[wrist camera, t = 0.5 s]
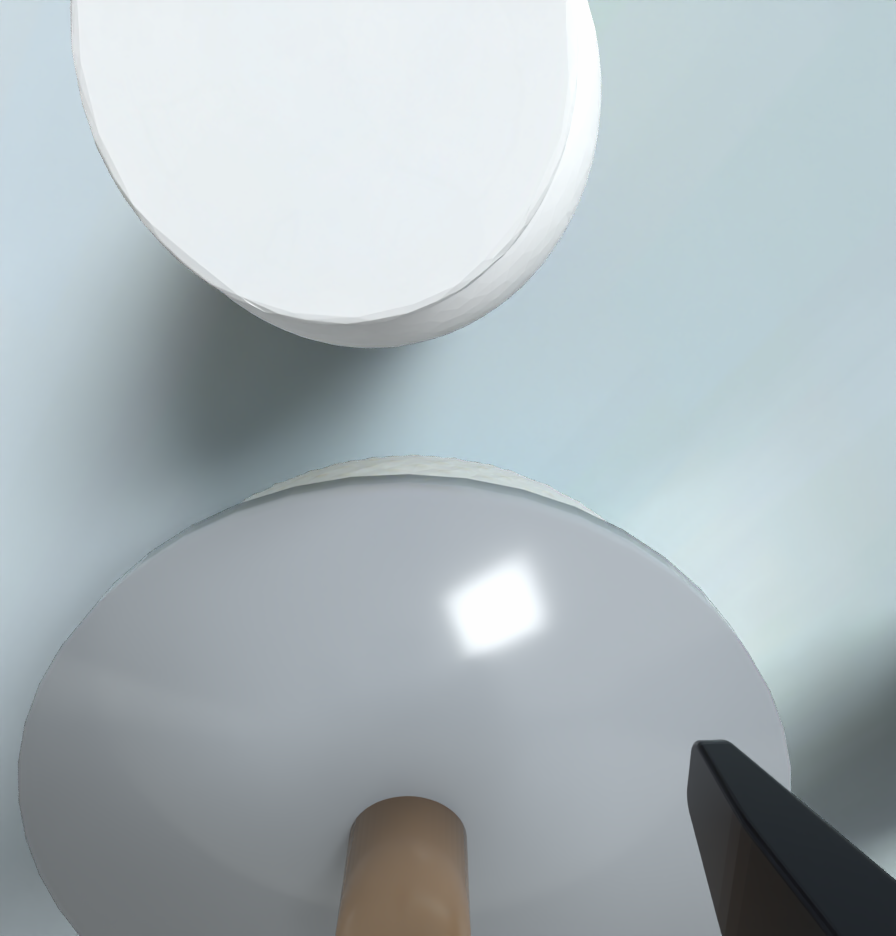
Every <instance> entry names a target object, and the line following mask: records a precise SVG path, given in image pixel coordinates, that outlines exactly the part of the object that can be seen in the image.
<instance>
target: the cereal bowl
mask: <svg viewBox="0 0 896 936" xmlns="http://www.w3.org/2000/svg"><path fill="white" fill-rule="evenodd" d="M398 474H416V475H429V476H443V477H457V478H468V479H473V480H478V481H483V482H488V483H493V484H498V485H503V486H508V487H514V488H519V489H523V490H526V491H529V492H532V493H535V494H538V495H541V496H544V497H547V498H550V499H553V500H556V501H559V502H563V503H566V504H569V505H572V506H575V507H577V508H579V509H581V510H583V511H585V512H587V513H589V514H591V515H593V516H596V517H598V518H600V519H602V520H604V519H603V518H602V517H601V516H600V515H598V514H596V513H594V512H593V511H592V510H590V509H588V508H586V507H585V506H584V505H583V504H581V503H580V502H579V501H576V500H574V499H572V498H571V497H569V496H567V495H564V494H562V493H560V492H559V491H557V490H555V489H553V488H552V487H550V486H549V485H547V484H543V483H540V482H537V481H535V480H532V479H529V478H527V477H525V476H522V475H519V474H517V473H515V472H513V471H511V470H505V469H501V468H498V467H496V466H493V465H490V464H482V463H478V462H472V461H464V460H461V459H457V458H441V457H436V456H420V455H408V456H389V457H371V458H367V459H363V460H353V461H348V462H345V463H338V464H334V465H331V466H328V467H325V468H322V469H317V470H312V471H308V472H306V473H305V474H303V475H299V476H296V477H294V478H291V479H288V480H287V481H285V482H280V483H276V484H274V485H273V486H272V487H271V488H268V489H266V490H264V491H262V492H259V493H256V494H253V495H252V496H251V497H250V498H247V499H245V500H244V501H242V502H245V501H249V500H252V499H255V498H258V497H262V496H265V495H268V494H272V493H275V492H278V491H281V490H285V489H288V488H291V487H294V486H300V485H306V484H312V483H318V482H323V481H329V480H335V479H341V478H347V477H357V476H378V475H398ZM242 502H241V503H242ZM604 521H605V520H604ZM606 522H607V521H606Z"/></svg>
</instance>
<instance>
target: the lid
mask: <svg viewBox="0 0 896 936" xmlns="http://www.w3.org/2000/svg"><path fill="white" fill-rule="evenodd" d="M717 739H723V740H727V741H729V742H731V743H733V744H734V745H735V746H736V747H738V748H739V749H740V750H741V751H742V752H744V753H745V754H746V755H747V756H748V757H750V758H751V759H752V760H753V761H754V762H756V763H757V764H758V765H759V766H760V767H761V768H763V769H764V770H765V771H766V772H767V773H769V774H770V775H771V776H772V777H773V778H775V779H776V780H777V781H778V782H779V783H781V784H782V785H783V786H784V787H785V788H787V789H788V790H789V791H790V792H791V764H790V759H789V753H788V748H787V742H786V736H785V731H784V727H783V724H782V721H781V719H780V716H779V713H778V711H777V708H776V705H775V702H774V700H773V697H772V694H771V692H770V689H769V687H768V686H767V684H766V682H765V681H764V679H763V677H762V675H761V674H760V672H759V670H758V668H757V667H756V665H755V663H754V662H753V660H752V658H751V656H750V655H749V653H748V651H747V650H746V648H745V647H744V645H743V644H742V642H741V641H740V639H739V638H738V636H737V635H736V633H735V632H734V630H733V629H732V627H731V626H730V624H729V623H728V622H727V620H726V619H725V618H724V617H723V616H722V614H721V613H720V612H719V611H718V610H717V608H716V607H715V606H714V605H713V604H712V602H711V601H710V600H709V599H708V597H707V596H706V595H705V594H704V593H703V591H702V590H701V589H700V588H699V587H698V586H696V585H695V584H694V583H693V582H692V581H691V580H690V579H689V578H688V577H686V576H685V575H684V574H683V573H682V572H681V571H680V570H679V569H677V568H676V567H675V566H674V565H673V564H672V563H671V562H670V561H668V560H667V559H666V558H665V557H664V556H662V555H661V554H659V553H657V552H656V551H654V550H653V549H651V548H650V547H648V546H647V545H645V544H644V543H642V542H641V541H639V540H638V539H636V538H635V537H633V536H632V535H630V534H629V533H627V532H626V531H624V530H623V529H620V528H618V527H616V526H614V525H612V524H610V523H608V522H606V521H604V520H602V519H600V518H598V517H596V516H593V515H591V514H589V513H587V512H585V511H583V510H581V509H579V508H577V507H575V506H572V505H569V504H566V503H563V502H559V501H556V500H553V499H550V498H547V497H544V496H541V495H538V494H535V493H532V492H529V491H526V490H523V489H519V488H514V487H508V486H503V485H498V484H493V483H488V482H483V481H478V480H473V479H468V478H457V477H443V476H429V475H416V474H398V475H378V476H357V477H347V478H341V479H335V480H329V481H323V482H318V483H312V484H306V485H300V486H294V487H291V488H288V489H285V490H281V491H278V492H275V493H272V494H268V495H265V496H262V497H258V498H255V499H252V500H249V501H245V502H242V503H240V504H237V505H235V506H233V507H231V508H229V509H226V510H224V511H222V512H220V513H218V514H215V515H213V516H211V517H209V518H207V519H204V520H202V521H200V522H198V523H196V524H194V525H192V526H190V527H189V528H187V529H185V530H184V531H182V532H181V533H179V534H178V535H176V536H174V537H173V538H171V539H170V540H168V541H167V542H165V543H163V544H162V545H160V546H159V547H157V548H156V549H154V550H152V551H151V552H149V553H148V554H147V555H146V556H145V557H144V558H142V559H141V560H140V561H139V562H138V563H137V564H136V565H134V566H133V567H132V568H131V569H130V570H129V571H127V572H126V573H125V574H124V575H123V576H122V577H121V578H119V579H118V580H117V581H116V582H115V583H114V584H113V585H112V586H111V587H110V588H109V590H108V591H107V592H106V593H105V594H104V596H103V597H102V598H101V599H100V600H99V601H98V603H97V604H96V605H95V606H94V607H93V609H92V610H91V611H90V612H89V613H88V615H87V616H86V617H85V618H84V619H83V621H82V622H81V623H80V624H79V625H78V627H77V628H76V629H75V630H74V631H73V633H72V634H71V635H70V636H69V637H68V639H67V640H66V641H65V642H64V643H63V645H62V646H61V648H60V649H59V651H58V653H57V654H56V656H55V658H54V660H53V661H52V663H51V665H50V666H49V668H48V670H47V672H46V673H45V675H44V677H43V678H42V680H41V682H40V683H39V686H38V689H37V691H36V694H35V697H34V700H33V702H32V705H31V708H30V710H29V713H28V716H27V719H26V721H25V725H24V731H23V737H22V743H21V749H20V754H19V760H18V790H19V806H20V811H21V816H22V821H23V826H24V832H25V837H26V840H27V843H28V846H29V848H30V851H31V854H32V856H33V859H34V862H35V864H36V867H37V870H38V872H39V875H40V877H41V878H42V880H43V882H44V884H45V886H46V887H47V889H48V891H49V893H50V894H51V896H52V898H53V900H54V902H55V903H56V905H57V907H58V908H59V910H60V911H61V912H62V914H63V915H64V916H65V917H66V919H67V920H68V921H69V923H70V924H71V925H72V927H73V928H74V929H75V931H76V932H77V933H78V934H79V936H722V935H721V931H720V928H719V924H718V920H717V917H716V913H715V909H714V905H713V901H712V898H711V894H710V890H709V886H708V882H707V878H706V875H705V871H704V867H703V863H702V859H701V856H700V852H699V848H698V844H697V840H696V837H695V833H694V829H693V825H692V821H691V817H690V814H689V809H688V804H687V783H688V774H689V764H690V755H691V748H692V746H693V743H694V742H696V741H698V740H717Z"/></svg>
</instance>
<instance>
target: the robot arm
mask: <svg viewBox="0 0 896 936" xmlns="http://www.w3.org/2000/svg"><path fill="white" fill-rule="evenodd" d="M687 804H688V809H689V814H690V817H691V821H692V825H693V829H694V833H695V837H696V840H697V844H698V848H699V852H700V856H701V859H702V863H703V867H704V871H705V875H706V878H707V882H708V886H709V890H710V894H711V898H712V901H713V905H714V909H715V913H716V917H717V920H718V924H719V928H720V931H721V935H722V936H896V880H895V879H894V878H893V877H891V876H890V875H889V874H888V873H887V872H885V871H884V870H883V869H882V868H881V867H880V866H878V865H877V864H876V863H875V862H874V861H872V860H871V859H870V858H869V857H868V856H866V855H865V854H864V853H863V852H862V851H860V850H859V849H858V848H857V847H856V846H854V845H853V844H852V843H851V842H850V841H849V840H847V839H846V838H845V837H844V836H843V835H841V834H840V833H839V832H838V831H837V830H835V829H834V828H833V827H832V826H831V825H829V824H828V823H827V822H826V821H825V820H823V819H822V818H821V817H820V816H819V815H818V814H816V813H815V812H814V811H813V810H812V809H810V808H809V807H808V806H807V805H806V804H804V803H803V802H802V801H801V800H800V799H798V798H797V797H796V796H795V795H794V794H792V793H791V792H790V791H789V790H788V789H787V788H785V787H784V786H783V785H782V784H781V783H779V782H778V781H777V780H776V779H775V778H773V777H772V776H771V775H770V774H769V773H767V772H766V771H765V770H764V769H763V768H761V767H760V766H759V765H758V764H757V763H756V762H754V761H753V760H752V759H751V758H750V757H748V756H747V755H746V754H745V753H744V752H742V751H741V750H740V749H739V748H738V747H736V746H735V745H734V744H733V743H731V742H729V741H727V740H723V739H717V740H698V741H696V742H694V743H693V746H692V748H691V755H690V764H689V774H688V783H687Z"/></svg>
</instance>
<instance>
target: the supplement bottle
mask: <svg viewBox="0 0 896 936" xmlns="http://www.w3.org/2000/svg"><path fill="white" fill-rule="evenodd" d="M70 13H71V43H72V53H73V59H74V65H75V70H76V75H77V80H78V85H79V90H80V95H81V100H82V105H83V108H84V111H85V114H86V117H87V120H88V123H89V125H90V128H91V131H92V134H93V137H94V140H95V143H96V146H97V149H98V151H99V153H100V155H101V157H102V159H103V161H104V163H105V165H106V167H107V169H108V171H109V173H110V175H111V177H112V179H113V180H114V182H115V184H116V185H117V187H118V189H119V190H120V192H121V194H122V195H123V197H124V198H125V200H126V201H127V202H128V204H129V205H130V206H131V208H132V209H133V211H134V212H135V213H136V215H137V216H138V217H139V219H140V220H141V221H142V222H143V224H144V225H145V226H146V227H147V228H148V229H149V230H150V232H151V233H152V234H153V235H154V236H155V237H156V238H157V240H158V241H159V242H160V243H161V244H162V245H163V246H164V247H165V248H166V249H167V250H168V251H169V252H170V253H171V254H172V255H173V256H174V257H175V258H176V259H177V260H178V261H180V262H181V263H182V264H183V265H185V266H186V267H187V268H188V269H190V270H191V271H192V272H193V273H194V274H196V275H197V276H198V277H200V278H201V279H203V280H204V281H206V282H207V283H209V284H210V285H211V286H213V287H215V288H216V289H218V290H220V291H221V292H223V293H224V294H225V295H226V296H228V297H229V298H230V299H231V300H233V301H234V302H235V303H237V304H238V305H240V306H241V307H243V308H244V309H246V310H247V311H249V312H250V313H252V314H254V315H255V316H257V317H259V318H260V319H262V320H264V321H266V322H268V323H270V324H272V325H274V326H276V327H278V328H280V329H283V330H285V331H287V332H290V333H292V334H295V335H298V336H301V337H304V338H307V339H311V340H315V341H319V342H323V343H327V344H332V345H337V346H345V347H357V348H386V347H398V346H403V345H408V344H413V343H419V342H423V341H427V340H431V339H434V338H437V337H440V336H443V335H446V334H449V333H451V332H454V331H456V330H458V329H460V328H463V327H465V326H467V325H469V324H471V323H473V322H474V321H476V320H478V319H480V318H482V317H483V316H485V315H486V314H488V313H489V312H491V311H492V310H494V309H495V308H497V307H498V306H499V305H501V304H502V303H503V302H505V301H506V300H507V299H509V298H510V297H511V296H512V295H513V294H514V293H515V292H517V291H518V290H519V289H520V288H521V287H522V286H523V285H524V284H525V283H526V282H527V281H528V280H529V279H530V278H531V277H532V276H533V275H534V274H535V272H536V271H537V270H538V269H539V268H540V267H541V266H542V264H543V263H544V262H545V260H546V259H547V258H548V256H549V255H550V253H551V252H552V250H553V249H554V248H555V246H556V245H557V243H558V242H559V240H560V238H561V237H562V235H563V233H564V232H565V230H566V228H567V226H568V224H569V223H570V221H571V219H572V217H573V215H574V213H575V211H576V208H577V206H578V203H579V201H580V199H581V196H582V194H583V191H584V189H585V186H586V183H587V179H588V176H589V173H590V169H591V165H592V162H593V158H594V153H595V148H596V142H597V136H598V131H599V121H600V110H601V69H600V59H599V50H598V44H597V37H596V31H595V26H594V22H593V19H592V15H591V12H590V8H589V4H588V1H587V0H71V6H70Z"/></svg>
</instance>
